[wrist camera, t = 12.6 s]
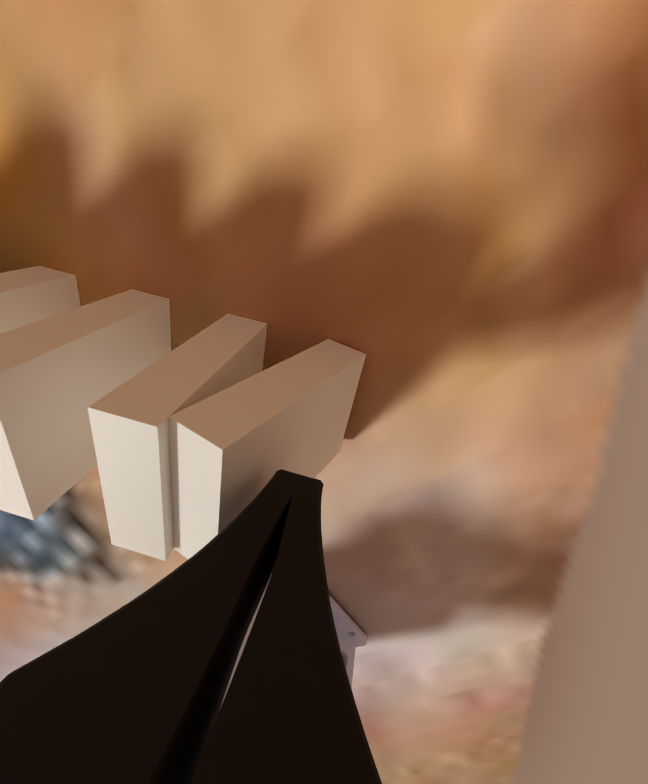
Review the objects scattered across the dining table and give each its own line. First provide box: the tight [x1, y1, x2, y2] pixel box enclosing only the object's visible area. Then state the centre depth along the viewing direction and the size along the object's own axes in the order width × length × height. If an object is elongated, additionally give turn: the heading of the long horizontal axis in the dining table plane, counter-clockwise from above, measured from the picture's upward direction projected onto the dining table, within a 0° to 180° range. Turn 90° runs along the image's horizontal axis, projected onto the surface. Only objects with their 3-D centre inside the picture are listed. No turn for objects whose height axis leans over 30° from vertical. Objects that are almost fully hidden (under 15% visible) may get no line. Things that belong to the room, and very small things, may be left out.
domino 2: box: [88, 313, 268, 561], centre depth 13 cm, size 2×5×8 cm, turn 169°
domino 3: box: [0, 289, 171, 520], centre depth 14 cm, size 2×5×8 cm, turn 169°
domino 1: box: [169, 339, 366, 559], centre depth 13 cm, size 2×5×8 cm, turn 169°
